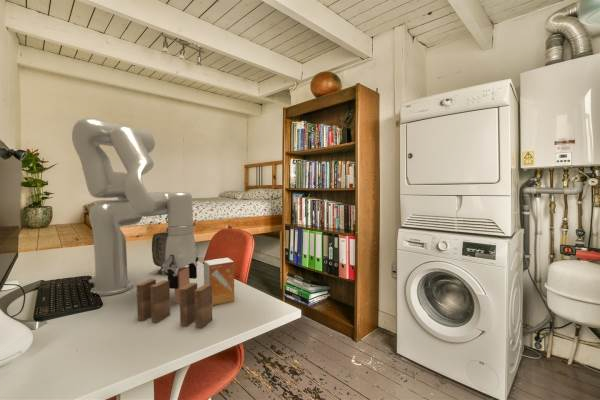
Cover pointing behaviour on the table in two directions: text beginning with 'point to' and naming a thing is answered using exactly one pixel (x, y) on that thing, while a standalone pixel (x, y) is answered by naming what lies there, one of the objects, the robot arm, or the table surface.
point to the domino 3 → (181, 281)
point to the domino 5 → (203, 305)
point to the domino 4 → (187, 304)
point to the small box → (220, 279)
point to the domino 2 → (160, 301)
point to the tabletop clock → (159, 248)
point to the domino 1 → (144, 299)
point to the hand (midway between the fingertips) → (183, 283)
